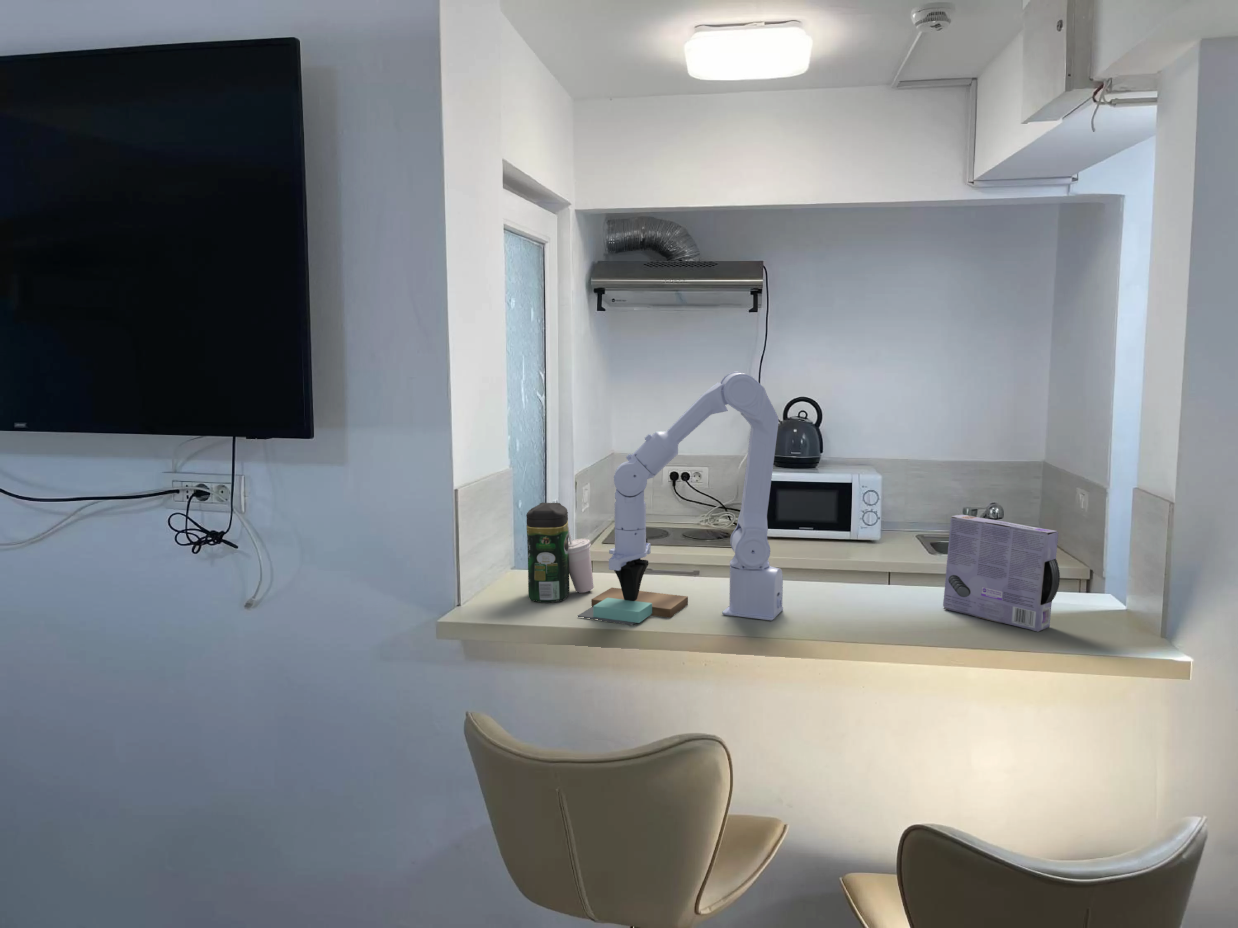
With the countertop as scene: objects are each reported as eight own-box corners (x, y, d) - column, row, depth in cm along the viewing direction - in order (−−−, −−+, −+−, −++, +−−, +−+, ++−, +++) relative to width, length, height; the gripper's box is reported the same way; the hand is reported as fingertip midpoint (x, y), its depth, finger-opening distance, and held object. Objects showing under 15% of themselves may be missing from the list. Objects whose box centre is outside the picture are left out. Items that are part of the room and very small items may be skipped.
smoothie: (565, 590, 187) (549, 524, 184) (594, 580, 189) (579, 515, 186) (575, 597, 181) (559, 530, 178) (605, 587, 183) (589, 521, 180)
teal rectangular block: (652, 613, 169) (652, 602, 168) (639, 622, 163) (639, 611, 163) (607, 607, 172) (607, 597, 172) (593, 616, 167) (593, 606, 167)
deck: (687, 604, 176) (687, 596, 175) (670, 617, 168) (670, 609, 167) (611, 595, 182) (611, 587, 182) (591, 607, 174) (591, 599, 174)
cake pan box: (1058, 628, 160) (1064, 528, 158) (1045, 634, 157) (1051, 532, 155) (955, 604, 175) (959, 512, 172) (941, 609, 171) (945, 516, 169)
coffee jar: (533, 590, 187) (531, 499, 184) (572, 590, 186) (570, 500, 183) (524, 603, 177) (522, 508, 175) (565, 604, 176) (563, 509, 174)
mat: (647, 614, 169) (647, 612, 169) (632, 625, 163) (632, 623, 163) (593, 608, 174) (593, 605, 174) (577, 617, 168) (577, 615, 168)
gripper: (626, 518, 177) (626, 587, 179) (593, 533, 164) (593, 607, 166) (660, 521, 174) (660, 591, 176) (629, 536, 161) (629, 612, 163)
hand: (630, 599), depth 171 cm, fingers closed
